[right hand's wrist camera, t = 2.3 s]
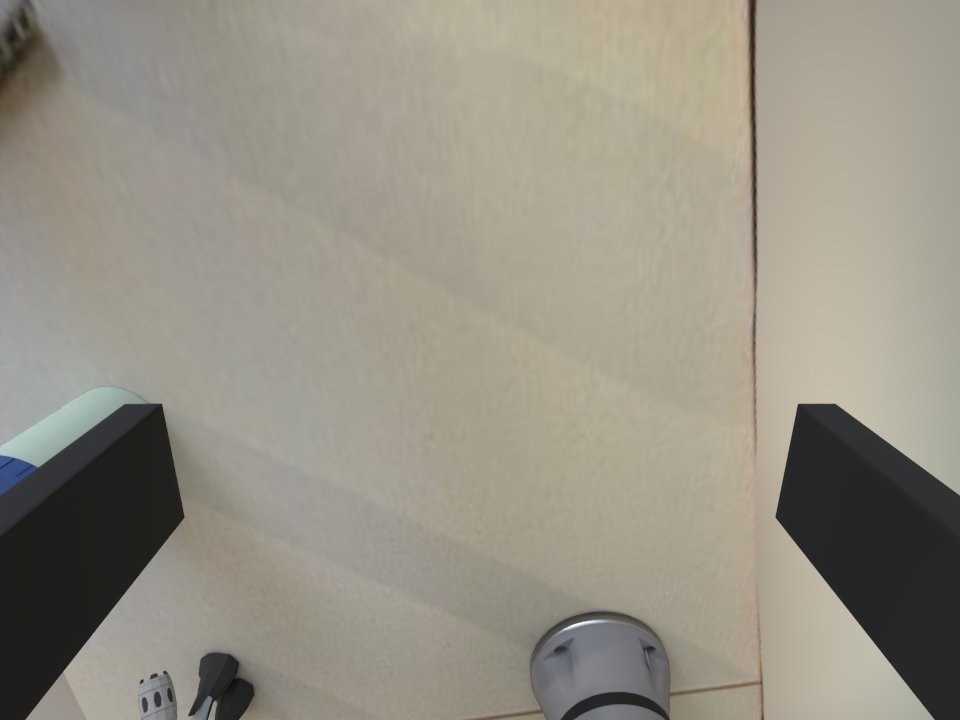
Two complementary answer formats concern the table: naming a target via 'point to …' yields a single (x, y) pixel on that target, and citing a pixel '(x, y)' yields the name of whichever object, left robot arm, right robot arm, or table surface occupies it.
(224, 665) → the robot
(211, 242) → the table surface
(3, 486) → the lid
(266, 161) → the table surface
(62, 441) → the jar
